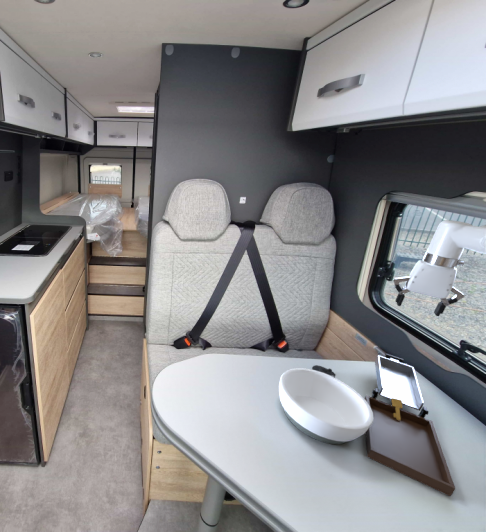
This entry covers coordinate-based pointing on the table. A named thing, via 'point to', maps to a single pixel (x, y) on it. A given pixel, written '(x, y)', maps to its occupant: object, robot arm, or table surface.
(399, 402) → the key
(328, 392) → the bowl
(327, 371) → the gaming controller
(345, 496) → the table surface
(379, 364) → the shallow grey bin
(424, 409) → the stand
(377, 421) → the tray
